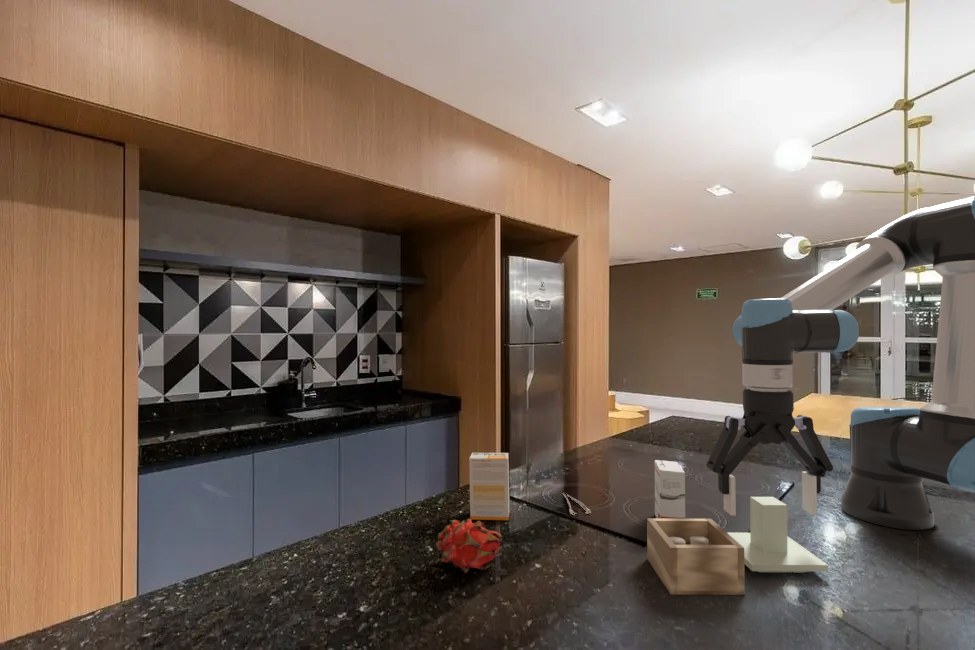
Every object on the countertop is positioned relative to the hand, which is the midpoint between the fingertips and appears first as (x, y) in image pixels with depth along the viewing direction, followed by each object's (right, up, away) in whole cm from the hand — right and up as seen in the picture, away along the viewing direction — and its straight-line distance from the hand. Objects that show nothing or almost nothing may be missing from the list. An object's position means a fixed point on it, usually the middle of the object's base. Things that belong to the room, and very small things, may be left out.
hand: (769, 512), depth 82 cm
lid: (0, -8, 0) cm, 8 cm away
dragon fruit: (-51, -9, -1) cm, 52 cm away
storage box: (-15, -8, -5) cm, 18 cm away
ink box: (-11, -9, +16) cm, 21 cm away
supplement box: (-48, -9, +20) cm, 53 cm away
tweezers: (-29, -9, +29) cm, 42 cm away
